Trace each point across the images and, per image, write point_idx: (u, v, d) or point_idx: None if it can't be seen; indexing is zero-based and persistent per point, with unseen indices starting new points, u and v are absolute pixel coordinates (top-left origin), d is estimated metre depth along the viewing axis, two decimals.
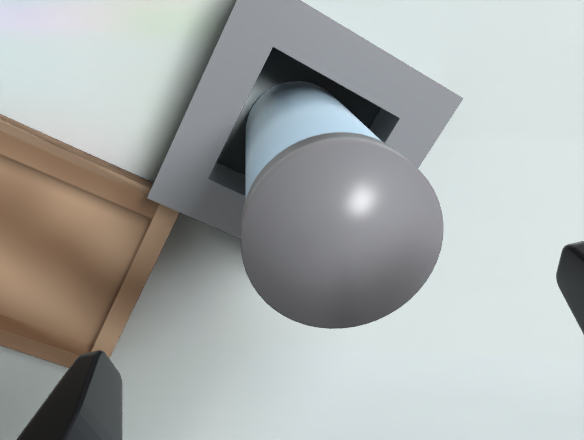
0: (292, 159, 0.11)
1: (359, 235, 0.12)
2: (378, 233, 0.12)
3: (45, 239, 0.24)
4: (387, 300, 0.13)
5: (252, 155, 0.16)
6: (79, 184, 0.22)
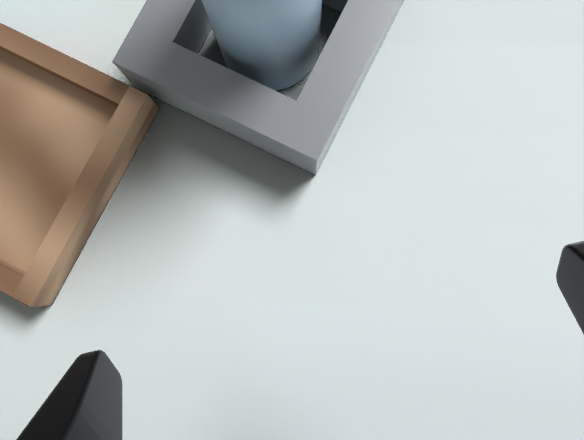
0: None
1: None
2: None
3: (14, 141, 0.23)
4: None
5: None
6: (55, 69, 0.23)
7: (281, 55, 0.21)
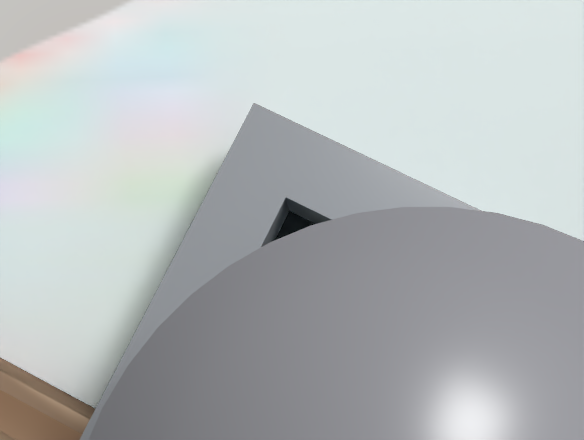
0: (236, 261, 0.04)
1: None
2: None
3: None
4: None
5: None
6: None
7: None
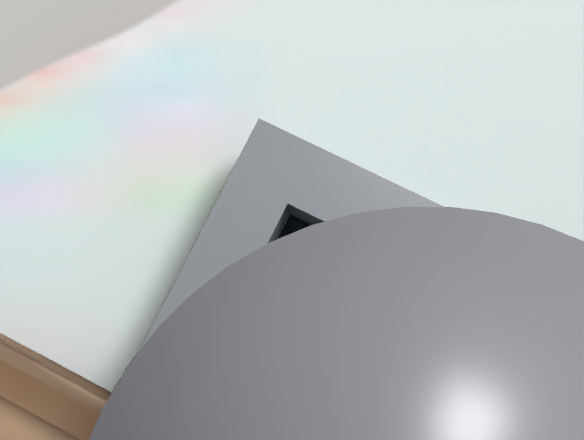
0: (237, 261, 0.04)
1: None
2: None
3: None
4: None
5: None
6: (20, 401, 0.15)
7: None
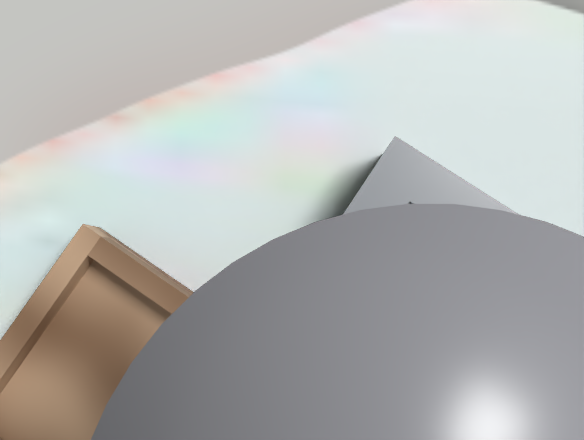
0: (240, 258, 0.04)
1: None
2: None
3: None
4: None
5: None
6: None
7: None
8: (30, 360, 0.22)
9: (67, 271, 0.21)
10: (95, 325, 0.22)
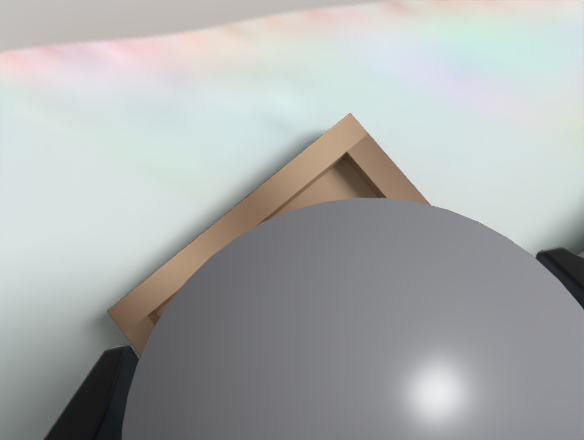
0: (241, 235, 0.05)
1: (412, 427, 0.05)
2: (461, 422, 0.05)
3: None
4: None
5: None
6: None
7: None
8: None
9: (318, 163, 0.17)
10: None
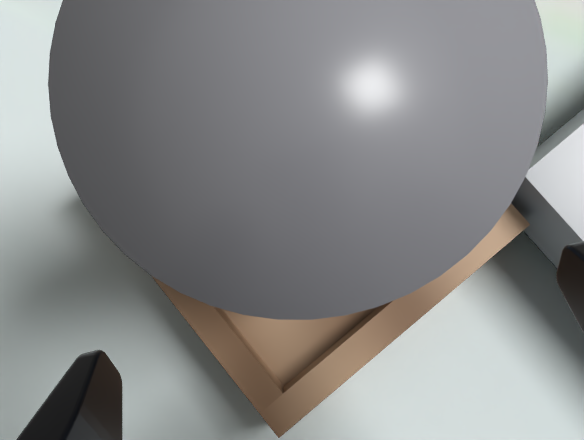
0: None
1: (332, 45, 0.05)
2: (380, 39, 0.05)
3: None
4: (429, 230, 0.05)
5: None
6: None
7: None
8: None
9: None
10: None
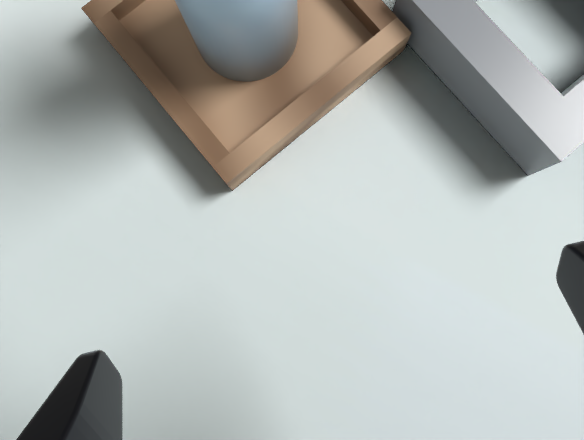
0: None
1: None
2: None
3: None
4: None
5: None
6: None
7: (254, 42, 0.19)
8: None
9: None
10: None
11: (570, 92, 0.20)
